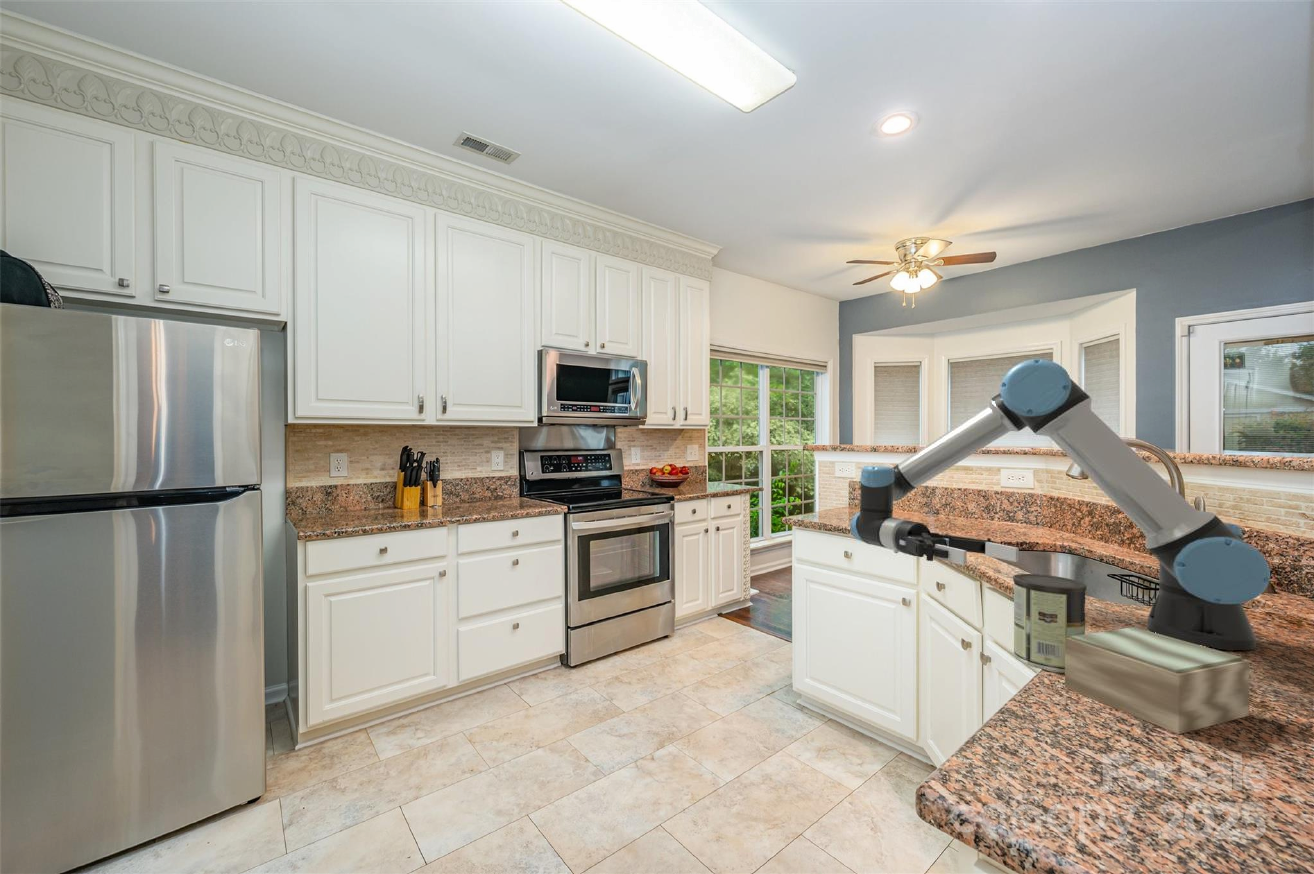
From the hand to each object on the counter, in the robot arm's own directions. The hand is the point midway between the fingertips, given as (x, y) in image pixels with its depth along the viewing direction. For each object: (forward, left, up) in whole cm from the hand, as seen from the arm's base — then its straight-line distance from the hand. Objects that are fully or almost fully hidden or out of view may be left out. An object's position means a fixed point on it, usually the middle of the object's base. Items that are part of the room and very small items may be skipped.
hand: (991, 556), depth 103 cm
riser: (-5, +25, -16) cm, 30 cm away
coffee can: (-2, +10, -16) cm, 19 cm away
